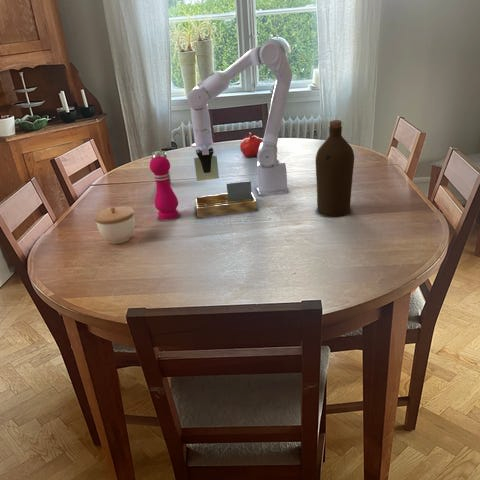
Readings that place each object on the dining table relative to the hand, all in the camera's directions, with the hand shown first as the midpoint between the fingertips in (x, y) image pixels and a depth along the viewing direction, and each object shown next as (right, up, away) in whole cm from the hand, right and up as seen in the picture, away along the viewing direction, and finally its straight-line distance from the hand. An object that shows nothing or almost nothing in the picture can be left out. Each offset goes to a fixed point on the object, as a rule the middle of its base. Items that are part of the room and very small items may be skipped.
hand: (207, 171), depth 160 cm
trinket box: (-24, -26, -22) cm, 42 cm away
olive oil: (+39, -17, -18) cm, 46 cm away
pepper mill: (-11, -18, -11) cm, 23 cm away
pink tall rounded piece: (-17, 0, +17) cm, 24 cm away
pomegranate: (+16, +20, +42) cm, 49 cm away
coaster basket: (+6, -14, -9) cm, 18 cm away
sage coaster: (0, -2, +1) cm, 2 cm away
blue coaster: (+11, -13, -9) cm, 20 cm away
